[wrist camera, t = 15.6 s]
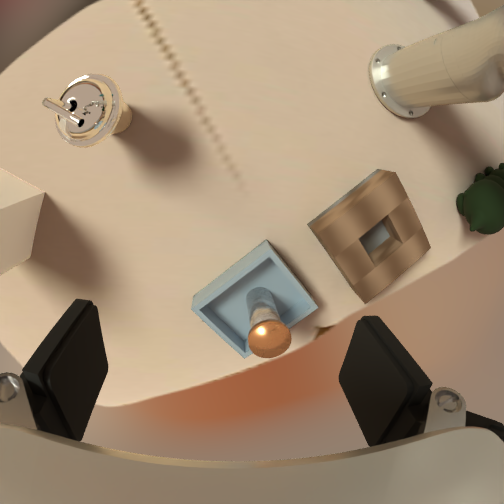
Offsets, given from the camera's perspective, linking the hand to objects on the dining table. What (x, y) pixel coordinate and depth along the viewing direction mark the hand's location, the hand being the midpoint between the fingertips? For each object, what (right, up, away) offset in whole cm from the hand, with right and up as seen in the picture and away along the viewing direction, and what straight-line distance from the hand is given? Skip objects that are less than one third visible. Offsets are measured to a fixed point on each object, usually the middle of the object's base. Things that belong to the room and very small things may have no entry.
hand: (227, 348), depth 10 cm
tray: (+1, -3, +36) cm, 36 cm away
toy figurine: (+45, +16, +34) cm, 58 cm away
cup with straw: (-18, +22, +25) cm, 37 cm away
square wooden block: (+19, +7, +34) cm, 39 cm away
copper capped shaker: (+2, -4, +35) cm, 35 cm away
